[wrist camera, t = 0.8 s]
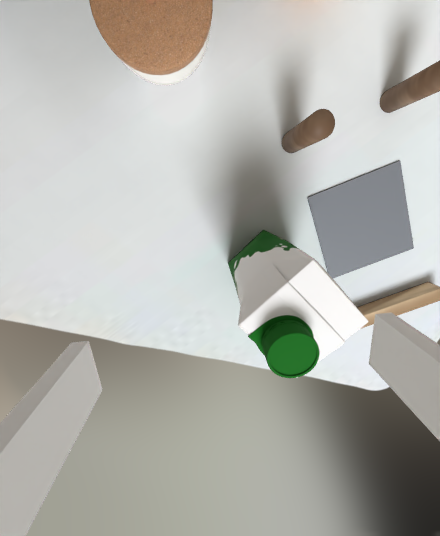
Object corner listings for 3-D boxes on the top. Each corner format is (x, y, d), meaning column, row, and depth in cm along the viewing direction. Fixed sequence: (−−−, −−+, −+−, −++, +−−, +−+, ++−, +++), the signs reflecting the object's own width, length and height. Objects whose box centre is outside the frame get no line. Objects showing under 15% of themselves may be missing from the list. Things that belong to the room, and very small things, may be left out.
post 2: (378, 94, 31) (442, 57, 23) (398, 85, 31) (471, 44, 22) (381, 116, 32) (445, 88, 23) (401, 107, 32) (473, 76, 23)
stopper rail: (330, 317, 40) (337, 324, 38) (427, 281, 39) (442, 287, 37) (333, 327, 41) (340, 335, 38) (429, 292, 40) (443, 299, 37)
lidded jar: (99, 25, 28) (47, -53, 19) (179, -36, 27) (163, -150, 18) (154, 118, 31) (131, 88, 22) (228, 67, 30) (236, 14, 21)
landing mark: (307, 197, 35) (307, 197, 34) (399, 160, 34) (400, 160, 33) (329, 278, 38) (330, 279, 38) (412, 248, 37) (413, 248, 37)
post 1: (279, 135, 32) (304, 115, 24) (298, 127, 32) (331, 104, 23) (285, 156, 33) (311, 143, 24) (303, 148, 33) (337, 133, 24)
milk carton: (219, 263, 37) (229, 340, 18) (264, 219, 35) (329, 253, 16) (258, 301, 39) (304, 406, 20) (302, 261, 37) (400, 335, 18)
